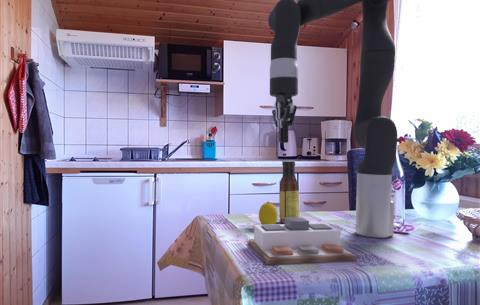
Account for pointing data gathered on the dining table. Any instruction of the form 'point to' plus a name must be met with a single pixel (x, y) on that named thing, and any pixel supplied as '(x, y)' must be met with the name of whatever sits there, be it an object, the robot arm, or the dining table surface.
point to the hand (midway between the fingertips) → (283, 142)
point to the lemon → (268, 214)
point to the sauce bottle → (288, 192)
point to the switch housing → (295, 237)
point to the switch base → (303, 254)
